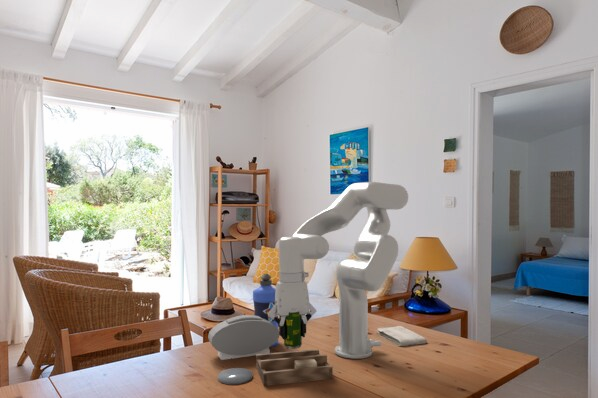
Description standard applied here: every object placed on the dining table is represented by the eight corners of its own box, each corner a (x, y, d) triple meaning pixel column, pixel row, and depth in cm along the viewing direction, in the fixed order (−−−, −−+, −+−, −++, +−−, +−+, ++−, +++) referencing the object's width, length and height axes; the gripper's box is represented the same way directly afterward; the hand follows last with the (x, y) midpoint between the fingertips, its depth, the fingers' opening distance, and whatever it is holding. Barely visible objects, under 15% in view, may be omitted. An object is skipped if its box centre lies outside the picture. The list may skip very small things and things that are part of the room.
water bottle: (247, 343, 157) (247, 274, 157) (268, 338, 163) (268, 271, 163) (263, 349, 150) (263, 277, 150) (284, 343, 156) (284, 274, 156)
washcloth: (400, 331, 174) (400, 323, 174) (428, 344, 157) (428, 336, 157) (374, 334, 169) (374, 326, 170) (400, 348, 153) (400, 339, 153)
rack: (318, 361, 138) (318, 345, 138) (332, 378, 125) (332, 361, 125) (256, 367, 133) (256, 351, 133) (263, 385, 120) (263, 367, 120)
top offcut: (314, 367, 128) (314, 359, 128) (316, 370, 125) (316, 362, 126) (294, 368, 127) (294, 360, 127) (296, 372, 124) (296, 364, 124)
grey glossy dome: (250, 369, 132) (250, 366, 132) (255, 382, 122) (255, 379, 122) (216, 372, 129) (216, 369, 129) (219, 386, 120) (219, 383, 120)
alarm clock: (273, 347, 153) (273, 310, 153) (279, 352, 147) (279, 314, 147) (207, 355, 144) (207, 317, 144) (211, 362, 138) (211, 321, 138)
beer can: (292, 342, 136) (291, 303, 136) (305, 345, 132) (304, 306, 132) (280, 346, 132) (279, 307, 132) (294, 350, 128) (293, 310, 128)
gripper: (315, 273, 138) (316, 330, 138) (261, 277, 133) (263, 336, 134) (322, 277, 131) (323, 337, 131) (266, 281, 126) (267, 343, 126)
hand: (292, 336), depth 132 cm, fingers closed on beer can, 5 cm apart
